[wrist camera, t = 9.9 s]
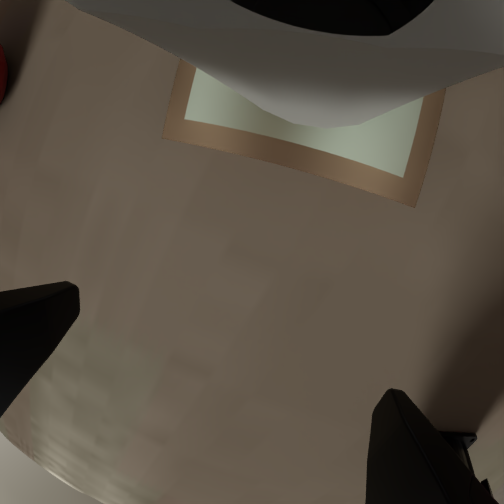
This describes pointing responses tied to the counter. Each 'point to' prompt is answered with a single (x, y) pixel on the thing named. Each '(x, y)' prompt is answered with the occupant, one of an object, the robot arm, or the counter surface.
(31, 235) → the counter surface
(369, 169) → the plinth
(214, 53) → the can
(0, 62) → the apple
